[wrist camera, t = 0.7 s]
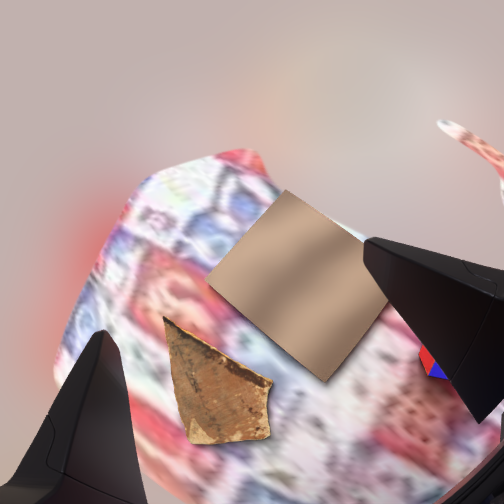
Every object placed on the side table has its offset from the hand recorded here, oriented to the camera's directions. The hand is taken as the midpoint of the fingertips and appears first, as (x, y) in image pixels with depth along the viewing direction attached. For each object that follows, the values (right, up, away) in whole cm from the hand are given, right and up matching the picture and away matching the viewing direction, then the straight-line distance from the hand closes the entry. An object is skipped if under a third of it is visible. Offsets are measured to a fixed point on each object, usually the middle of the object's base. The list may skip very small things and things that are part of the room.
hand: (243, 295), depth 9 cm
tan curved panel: (+4, -1, +14) cm, 15 cm away
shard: (-3, -10, +13) cm, 17 cm away
